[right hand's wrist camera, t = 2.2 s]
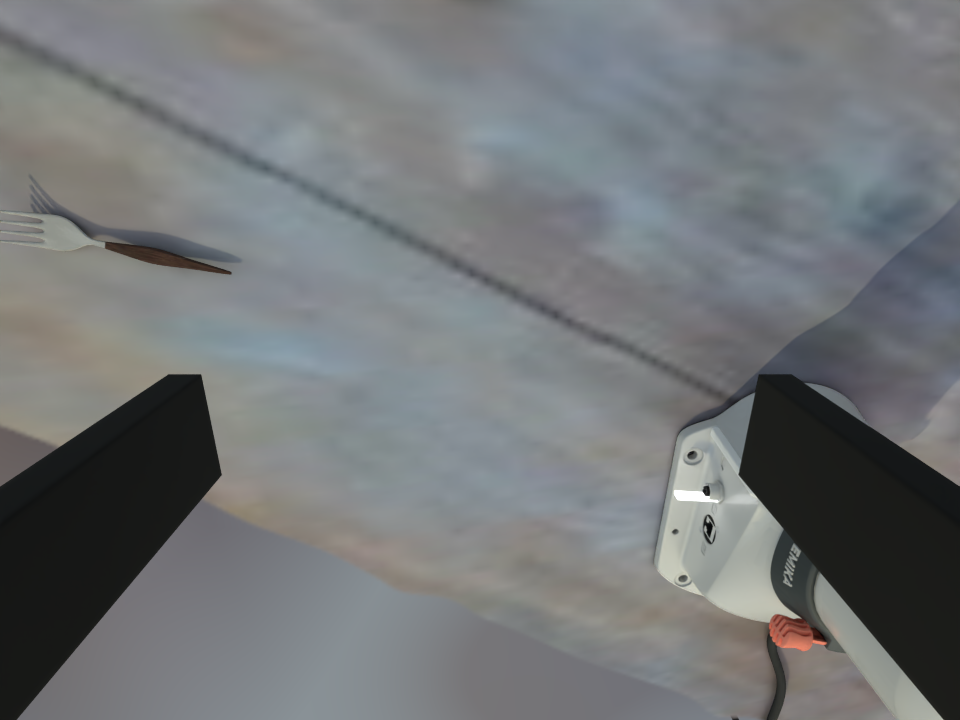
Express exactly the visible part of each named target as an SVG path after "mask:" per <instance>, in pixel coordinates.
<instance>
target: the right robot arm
mask: <svg viewBox="0 0 960 720" xmlns="http://www.w3.org/2000/svg"><path fill="white" fill-rule="evenodd" d="M221 475H222V474H221V469H220V464H219V459H218V454H217V450H216V445H215V440H214V435H213V430H212V425H211V420H210V415H209V411H208V406H207V401H206V396H205V391H204V386H203V381H202V376H201V374H169V375H167V376H166V377H164V378H163V379H161V380H160V381H158V382H157V383H155V384H154V385H152V386H151V387H149V388H148V389H146V390H145V391H143V392H142V393H140V394H139V395H137V396H136V397H134V398H133V399H131V400H130V401H128V402H127V403H125V404H124V405H122V406H121V407H119V408H118V409H116V410H115V411H113V412H112V413H110V414H109V415H107V416H106V417H104V418H103V419H101V420H100V421H98V422H97V423H95V424H94V425H92V426H91V427H89V428H88V429H86V430H85V431H83V432H82V433H80V434H79V435H77V436H76V437H74V438H73V439H71V440H70V441H68V442H67V443H65V444H64V445H62V446H61V447H59V448H58V449H56V450H55V451H53V452H52V453H50V454H49V455H47V456H46V457H44V458H43V459H41V460H40V461H38V462H37V463H35V464H34V465H32V466H31V467H29V468H28V469H26V470H25V471H23V472H22V473H20V474H19V475H17V476H16V477H14V478H13V479H11V480H10V481H8V482H7V483H5V484H4V485H2V486H1V487H0V720H17V719H18V717H19V716H20V715H21V714H22V713H23V711H24V710H25V709H26V708H27V707H28V706H29V704H30V703H31V702H32V701H33V700H34V698H35V697H36V696H37V695H38V694H39V692H40V691H41V690H42V689H43V688H44V686H45V685H46V684H47V683H48V682H49V680H50V679H51V678H52V677H53V676H54V675H55V673H56V672H57V671H58V670H59V669H60V667H61V666H62V665H63V664H64V663H65V661H66V660H67V659H68V658H69V657H70V655H71V654H72V653H73V652H74V651H75V649H76V648H77V647H78V646H79V645H80V643H81V642H82V641H83V640H84V639H85V638H86V636H87V635H88V634H89V633H90V631H91V630H92V629H93V628H94V627H95V626H96V624H97V623H98V622H99V621H100V620H101V618H102V617H103V616H104V615H105V614H106V612H107V611H108V610H109V609H110V608H111V606H112V605H113V604H114V603H115V602H116V601H117V599H118V598H119V597H120V596H121V595H122V593H123V592H124V591H125V590H126V589H127V587H128V586H129V585H130V584H131V583H132V581H133V580H134V579H135V578H136V577H137V575H138V574H139V573H140V572H141V571H142V570H143V568H144V567H145V566H146V565H147V564H148V562H149V561H150V560H151V559H152V558H153V556H154V555H155V554H156V553H157V552H158V550H159V549H160V548H161V547H162V546H163V544H164V543H165V542H166V541H167V540H168V538H169V537H170V536H171V535H172V534H173V533H174V531H175V530H176V529H177V528H178V527H179V525H180V524H181V523H182V522H183V521H184V519H185V518H186V517H187V516H188V515H189V513H190V512H191V511H192V510H193V509H194V507H195V506H196V505H197V504H198V503H199V502H200V500H201V499H202V498H203V497H204V496H205V494H206V493H207V492H208V491H209V490H210V488H211V487H212V486H213V485H214V484H215V482H216V481H217V480H218V479H219V478H220V476H221ZM738 475H739V476H740V478H741V479H742V480H743V481H744V482H745V484H746V485H747V486H748V487H749V488H750V490H751V491H752V492H753V493H754V494H755V496H756V497H757V498H758V499H759V500H760V502H761V503H762V504H763V505H764V506H765V507H766V509H767V510H768V511H769V512H770V513H771V515H772V516H773V517H774V518H775V519H776V521H777V522H778V523H779V524H780V525H781V527H782V528H783V529H784V530H785V531H786V533H787V534H788V535H789V536H790V537H791V539H792V540H793V541H794V542H795V543H796V544H797V546H798V547H799V548H800V549H801V550H802V552H803V553H804V554H805V555H806V556H807V558H808V559H809V560H810V561H811V562H812V564H813V565H814V566H815V567H816V568H817V570H818V571H819V572H820V573H821V574H822V575H823V577H824V578H825V579H826V580H827V581H828V583H829V584H830V585H831V586H832V587H833V589H834V590H835V591H836V592H837V593H838V595H839V596H840V597H841V598H842V599H843V601H844V602H845V603H846V604H847V605H848V607H849V608H850V609H851V610H852V611H853V612H854V614H855V615H856V616H857V617H858V618H859V620H860V621H861V622H862V623H863V624H864V626H865V627H866V628H867V629H868V630H869V632H870V633H871V634H872V635H873V636H874V638H875V639H876V640H877V641H878V642H879V643H880V645H881V646H882V647H883V648H884V649H885V651H886V652H887V653H888V654H889V655H890V657H891V658H892V659H893V660H894V661H895V663H896V664H897V665H898V666H899V667H900V669H901V670H902V671H903V672H904V673H905V675H906V676H907V677H908V678H909V679H910V680H911V682H912V683H913V684H914V685H915V686H916V688H917V689H918V690H919V691H920V692H921V694H922V695H923V696H924V697H925V698H926V700H927V701H928V702H929V703H930V704H931V706H932V707H933V708H934V709H935V710H936V711H937V713H938V714H939V715H940V716H941V717H942V719H943V720H960V486H958V485H956V484H955V483H953V482H952V481H950V480H949V479H947V478H946V477H944V476H943V475H941V474H940V473H938V472H937V471H935V470H934V469H932V468H931V467H929V466H928V465H926V464H925V463H923V462H922V461H920V460H919V459H917V458H916V457H914V456H913V455H911V454H910V453H908V452H907V451H905V450H904V449H902V448H901V447H899V446H898V445H896V444H895V443H893V442H892V441H890V440H889V439H887V438H886V437H884V436H883V435H881V434H880V433H878V432H877V431H875V430H874V429H872V428H871V427H869V426H868V425H866V424H865V423H863V422H862V421H860V420H859V419H857V418H856V417H854V416H853V415H851V414H850V413H848V412H847V411H845V410H844V409H842V408H841V407H839V406H838V405H836V404H835V403H833V402H832V401H830V400H829V399H827V398H826V397H824V396H823V395H821V394H820V393H818V392H817V391H815V390H814V389H812V388H811V387H809V386H808V385H806V384H805V383H803V382H802V381H800V380H799V379H797V378H796V377H794V376H793V375H791V374H759V376H758V381H757V386H756V391H755V396H754V401H753V406H752V411H751V415H750V420H749V425H748V430H747V435H746V440H745V445H744V450H743V454H742V459H741V464H740V469H739V474H738Z"/></svg>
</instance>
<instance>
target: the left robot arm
mask: <svg viewBox="0 0 960 720" xmlns="http://www.w3.org/2000/svg"><path fill="white" fill-rule="evenodd" d="M805 384H806V385H808V386H809V387H811V388H812V389H814V390H815V391H817V392H818V393H820V394H821V395H823V396H824V397H826V398H827V399H829V400H830V401H832V402H833V403H835V404H836V405H838V406H839V407H841V408H842V409H844V410H845V411H847V412H848V413H850V414H851V415H853V416H854V417H856V418H857V419H859V420H860V421H862V422H863V423H865V424H866V425H868V424H867V422H866V421H865V420H864V418H863V417H862V415H861V414H860V412H859V411H858V409H857V408H856V406H855V405H854V404H853V403H852V402H851V401H850V400H849V399H848V398H846V397H845V396H844V395H842V394H841V393H839V392H837V391H835V390H833V389H831V388H828V387H825V386H822V385H818V384H812V383H805ZM754 396H755V393H753V394H751V395H749V396H747V397H745V398H743V399H741V400H740V401H738V402H737V403H735V404H734V405H733V406H731V407H730V408H728V409H727V410H726V411H724V412H723V413H721V414H720V415H718V416H716V417H715V418H712V419H709V420H706V421H702V422H699V423H696V424H693V425H691V426H689V427H687V428H685V429H683V430H682V431H681V432H680V433H679V435H678V437H677V441H676V446H675V451H674V457H673V462H672V467H671V473H670V478H669V483H668V488H667V494H666V499H665V504H664V510H663V515H662V520H661V525H660V531H659V536H658V541H657V546H656V552H655V558H654V565H655V567H656V569H657V570H658V572H659V573H660V574H661V575H662V576H663V577H664V578H665V579H667V580H668V581H669V582H671V583H673V584H674V585H676V586H678V587H680V588H682V589H684V590H687V591H689V592H692V593H695V594H699V595H702V596H704V597H705V598H706V599H707V600H709V601H710V602H711V603H713V604H714V605H715V606H717V607H719V608H721V609H722V610H725V611H727V612H729V613H732V614H734V615H737V616H740V617H744V618H747V619H751V620H756V621H761V622H767V623H769V629H771V630H770V633H769V635H768V638H767V647H768V652H769V655H770V658H771V661H772V664H773V667H774V670H775V673H776V678H777V690H776V695H775V699H774V702H773V705H772V708H771V710H770V713H769V715H768V718H767V720H777V719H778V716H779V714H780V711H781V708H782V706H783V702H784V698H785V692H786V681H785V675H784V671H783V668H782V665H781V662H780V659H779V656H778V653H777V649H776V645H777V646H780V647H783V648H797V649H799V650H801V651H807V650H809V649H810V647H811V646H812V643H816V644H822V645H824V646H825V647H826V648H827V650H830V651H835V652H840V653H847V655H848V656H849V657H850V659H851V660H852V661H853V663H854V664H855V665H856V667H857V668H858V669H859V671H860V672H861V673H862V675H863V676H864V677H865V679H866V680H867V681H868V683H869V684H870V685H871V687H872V688H873V689H874V691H875V692H876V693H877V695H878V696H879V697H880V699H881V700H882V701H883V703H884V704H885V705H886V707H887V708H888V709H889V711H890V712H891V713H892V715H893V716H894V717H895V719H896V720H943V719H942V717H941V716H940V715H939V714H938V713H937V711H936V710H935V709H934V708H933V707H932V706H931V704H930V703H929V702H928V701H927V700H926V698H925V697H924V696H923V695H922V694H921V692H920V691H919V690H918V689H917V688H916V686H915V685H914V684H913V683H912V682H911V680H910V679H909V678H908V677H907V676H906V675H905V673H904V672H903V671H902V670H901V669H900V667H899V666H898V665H897V664H896V663H895V661H894V660H893V659H892V658H891V657H890V655H889V654H888V653H887V652H886V651H885V649H884V648H883V647H882V646H881V645H880V643H879V642H878V641H877V640H876V639H875V638H874V636H873V635H872V634H871V633H870V632H869V630H868V629H867V628H866V627H865V626H864V624H863V623H862V622H861V621H860V620H859V618H858V617H857V616H856V615H855V614H854V612H853V611H852V610H851V609H850V608H849V607H848V605H847V604H846V603H845V602H844V601H843V599H842V598H841V597H840V596H839V595H838V593H837V592H836V591H835V590H834V589H833V587H832V586H831V585H830V584H829V583H828V581H827V580H826V579H825V578H824V577H823V575H822V574H821V573H820V572H819V571H818V570H817V568H816V567H815V566H814V565H813V564H812V562H811V561H810V560H809V559H808V558H807V556H806V555H805V554H804V553H803V552H802V550H801V549H800V548H799V547H798V546H797V544H796V543H795V542H794V541H793V540H792V539H791V537H790V536H789V535H788V534H787V533H786V531H785V530H784V529H783V528H782V527H781V525H780V524H779V523H778V522H777V521H776V519H775V518H774V517H773V516H772V515H771V513H770V512H769V511H768V510H767V509H766V507H765V506H764V505H763V504H762V503H761V502H760V500H759V499H758V498H757V497H756V496H755V494H754V493H753V492H752V491H751V490H750V488H749V487H748V486H747V485H746V484H745V482H744V481H743V480H742V479H741V478H740V476H739V475H738V474H739V469H740V464H741V459H742V454H743V450H744V445H745V440H746V435H747V430H748V425H749V420H750V415H751V411H752V406H753V401H754ZM868 426H869V425H868ZM869 427H870V426H869ZM691 451H694V453H693V454H692V455H688V453H689V452H691ZM681 575H683V576H681ZM731 718H732V720H739V718H738V717H731Z"/></svg>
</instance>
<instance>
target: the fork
mask: <svg viewBox="0 0 960 720" xmlns="http://www.w3.org/2000/svg"><path fill="white" fill-rule="evenodd" d="M0 212H2V213H8V214H14V215H21V216H27V217H33V218H38V219H41V220H43V222H42V223H32V222H19V221H3V220H0V222H2V223H8V224H15V225H21V226H28V227H34V228H39V229H42V230H43V232H41V233H36V232H21V231H4V230H0V232H2V233H9V234H16V235H23V236H30V237H37V238H41V239H43V240H44V242H26V241H7V240H0V242H4V243H12V244H19V245H26V246H34V247H41V248H46V249H52V250H58V251H71V250H75V249H78V248H81V247H83V246H86V245H95V246H99V247H102V248H105V249H108V250H111V251H114V252H117V253H120V254H123V255H126V256H129V257H132V258H135V259H138V260H141V261H145V262H148V263H152V264H157V265H163V266H171V267H179V268H187V269H195V270H202V271H208V272H215V273H222V274H231V273H232V272H230V271H227V270H224V269H221V268H218V267H214V266H211V265H208V264H204V263H201V262H198V261H194V260H191V259H188V258H185V257H182V256H179V255H176V254H173V253H170V252H167V251H164V250H160V249H156V248H151V247H144V246H137V245H129V244H120V243H112V242H104V241H98V240H94V239H92V238H90V237H89V236H87V235H86V234H85V233H84V232H83V231H82V230H81V229H80V228H79V227H78V226H77V225H75V224H74V223H73V222H72V221H70V220H68V219H67V218H64V217H62V216H58V215H53V214H41V213H30V212H18V211H5V210H0Z"/></svg>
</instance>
